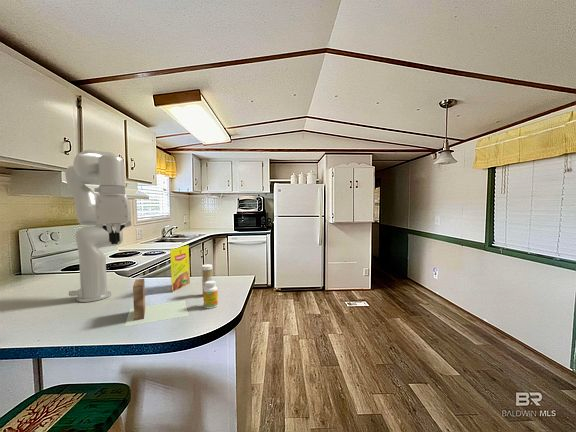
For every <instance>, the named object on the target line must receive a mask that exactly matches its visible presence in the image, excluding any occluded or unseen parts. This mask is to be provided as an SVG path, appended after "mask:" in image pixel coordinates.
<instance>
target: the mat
mask: <svg viewBox="0 0 576 432" xmlns="http://www.w3.org/2000/svg"><path fill="white" fill-rule="evenodd" d="M183 317H189V311H188V308H187V304H186V300H185V299H184V300H179V301H178V300H177V301H170V302H164V303H158V304H151V305H145V316H144V319H141V320H135V321H134V307H132V308H129V312H128V315H127V317H126V321H125V324H124V327H131V326H136V325H137V326H138V325H141V324H148V323H154V322H159V321H164V320H170V319H171V320H172V319H176V318H177V319H178V318H183Z"/></svg>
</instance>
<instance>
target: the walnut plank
mask: <svg viewBox="0 0 576 432" xmlns="http://www.w3.org/2000/svg"><path fill="white" fill-rule="evenodd" d="M145 287H146V285H145V278H139V279H137V278H136V279H135V281H134V282H133V286H132V296H133V300H132V301H133V308H134V321H135V320H141V319H144V316H145V306H146V288H145Z"/></svg>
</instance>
